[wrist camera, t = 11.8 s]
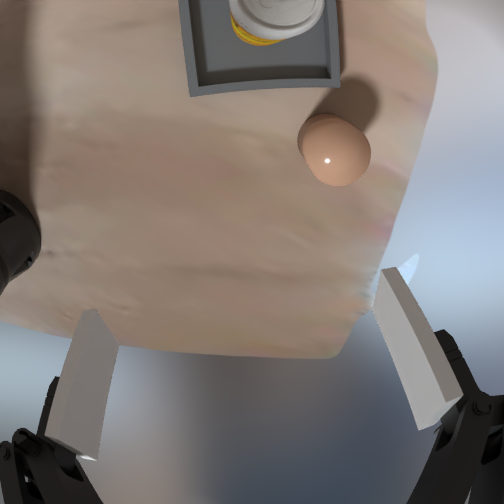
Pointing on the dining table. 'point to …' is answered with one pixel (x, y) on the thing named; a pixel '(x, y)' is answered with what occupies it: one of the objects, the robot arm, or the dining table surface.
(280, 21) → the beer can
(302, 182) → the dining table surface
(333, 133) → the light brown rounded lump
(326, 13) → the tray
